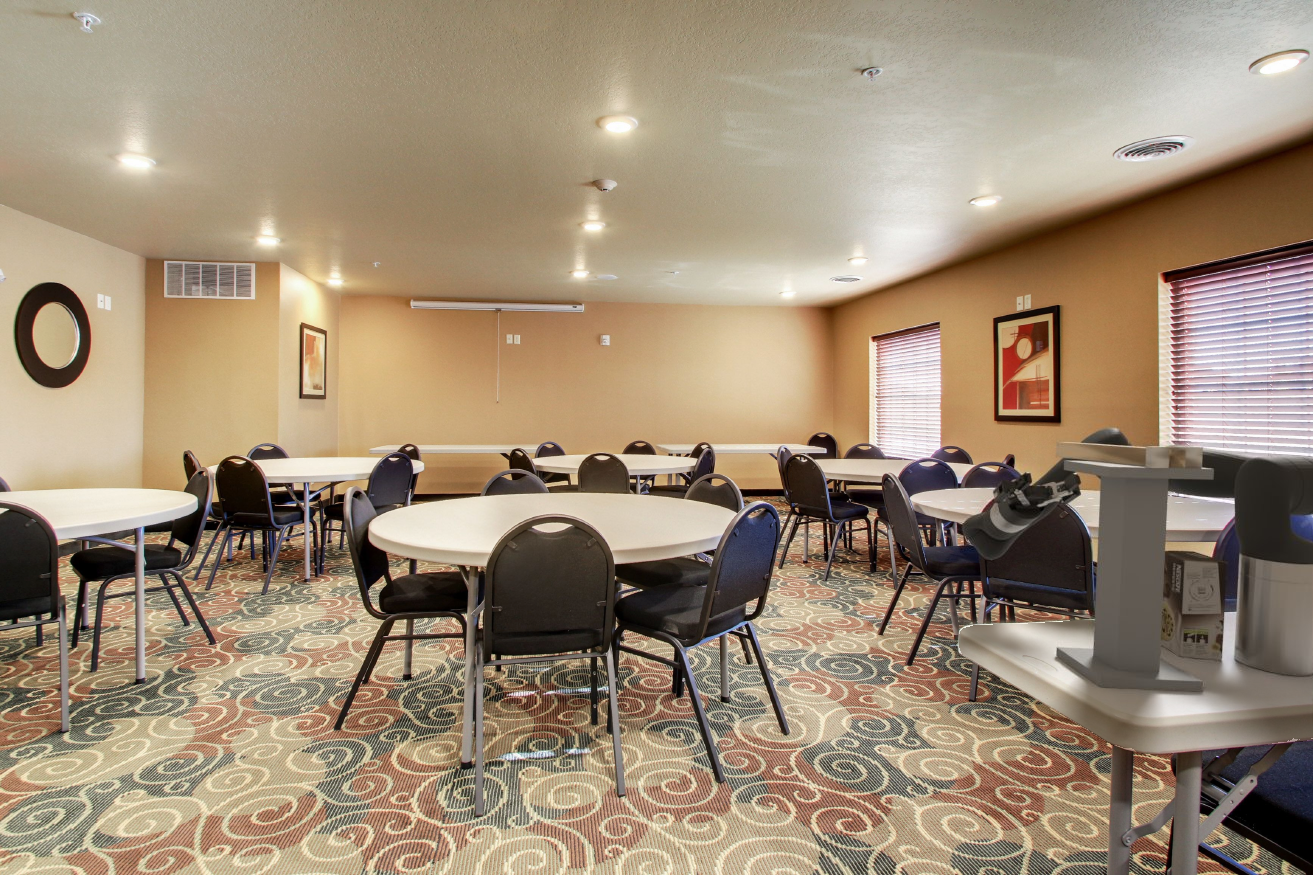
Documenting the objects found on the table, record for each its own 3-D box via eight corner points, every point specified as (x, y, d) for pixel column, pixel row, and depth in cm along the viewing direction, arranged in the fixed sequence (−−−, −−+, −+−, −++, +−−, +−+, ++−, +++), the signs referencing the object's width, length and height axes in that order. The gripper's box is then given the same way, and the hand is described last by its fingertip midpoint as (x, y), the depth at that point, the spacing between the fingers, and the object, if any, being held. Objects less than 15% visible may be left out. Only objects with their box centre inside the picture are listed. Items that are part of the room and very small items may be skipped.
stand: (1146, 659, 106) (1155, 462, 104) (1202, 691, 94) (1213, 468, 92) (1056, 656, 107) (1064, 460, 105) (1100, 686, 95) (1109, 466, 93)
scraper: (1083, 457, 115) (1083, 440, 115) (1201, 468, 93) (1202, 447, 93) (1041, 456, 114) (1042, 439, 114) (1151, 467, 92) (1152, 446, 92)
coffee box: (1224, 661, 106) (1229, 562, 105) (1179, 657, 107) (1184, 559, 106) (1190, 641, 115) (1195, 550, 114) (1149, 638, 116) (1153, 548, 115)
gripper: (1055, 527, 134) (1098, 496, 119) (983, 525, 135) (1017, 494, 121) (1047, 493, 137) (1088, 459, 123) (977, 491, 138) (1009, 458, 124)
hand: (1053, 477), depth 122 cm, fingers open, 8 cm apart
